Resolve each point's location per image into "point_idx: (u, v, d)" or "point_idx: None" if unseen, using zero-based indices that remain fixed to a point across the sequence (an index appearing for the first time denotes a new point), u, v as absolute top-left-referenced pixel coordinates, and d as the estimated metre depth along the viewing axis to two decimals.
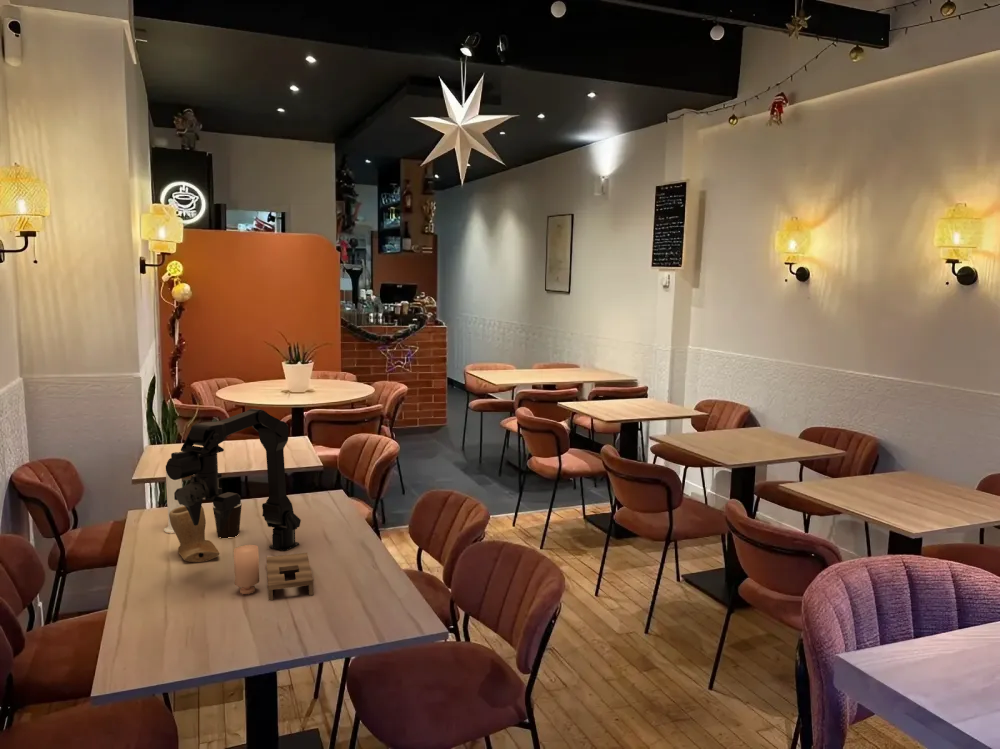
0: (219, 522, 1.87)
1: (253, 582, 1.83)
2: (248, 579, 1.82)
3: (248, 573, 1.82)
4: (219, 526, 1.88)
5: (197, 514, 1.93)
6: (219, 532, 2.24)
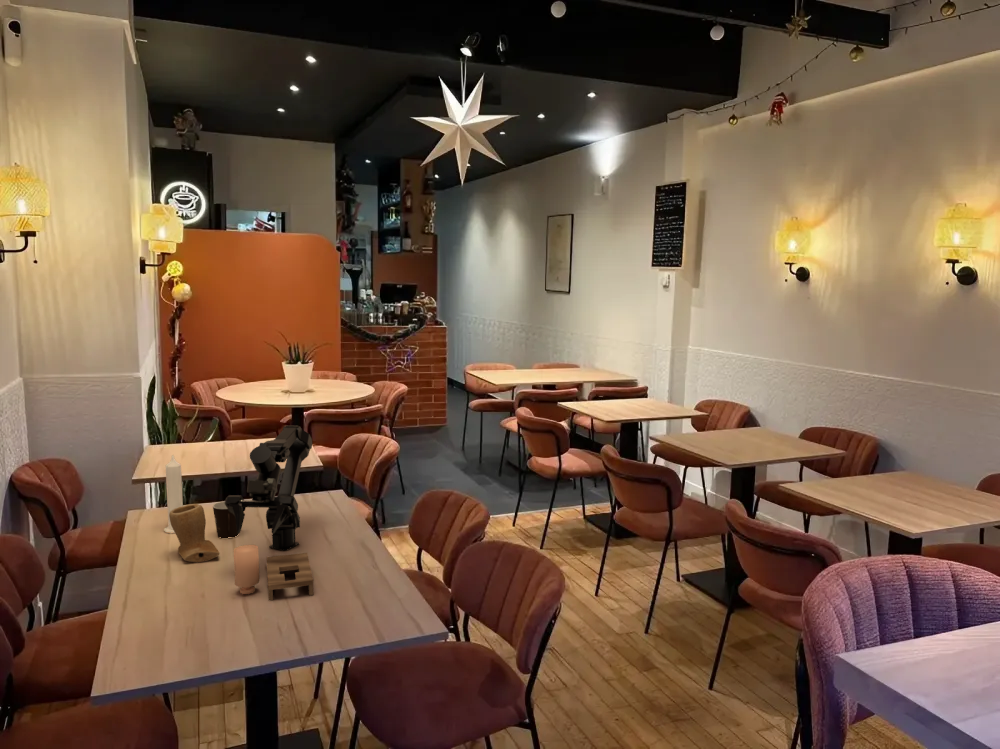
0: (275, 522, 1.92)
1: (253, 582, 1.83)
2: (248, 579, 1.82)
3: (248, 573, 1.82)
4: (273, 527, 1.91)
5: (241, 524, 1.93)
6: (219, 532, 2.24)
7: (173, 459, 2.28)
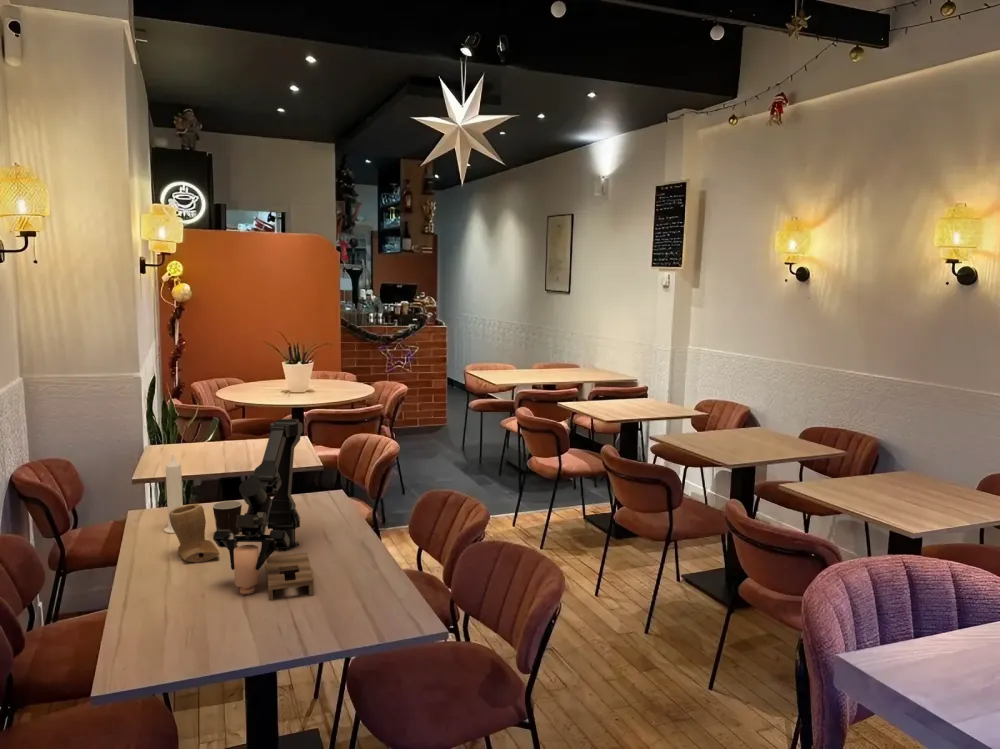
0: (260, 558, 1.84)
1: (253, 582, 1.83)
2: (248, 579, 1.82)
3: (248, 573, 1.82)
4: (258, 563, 1.84)
5: None
6: None
7: (173, 459, 2.28)
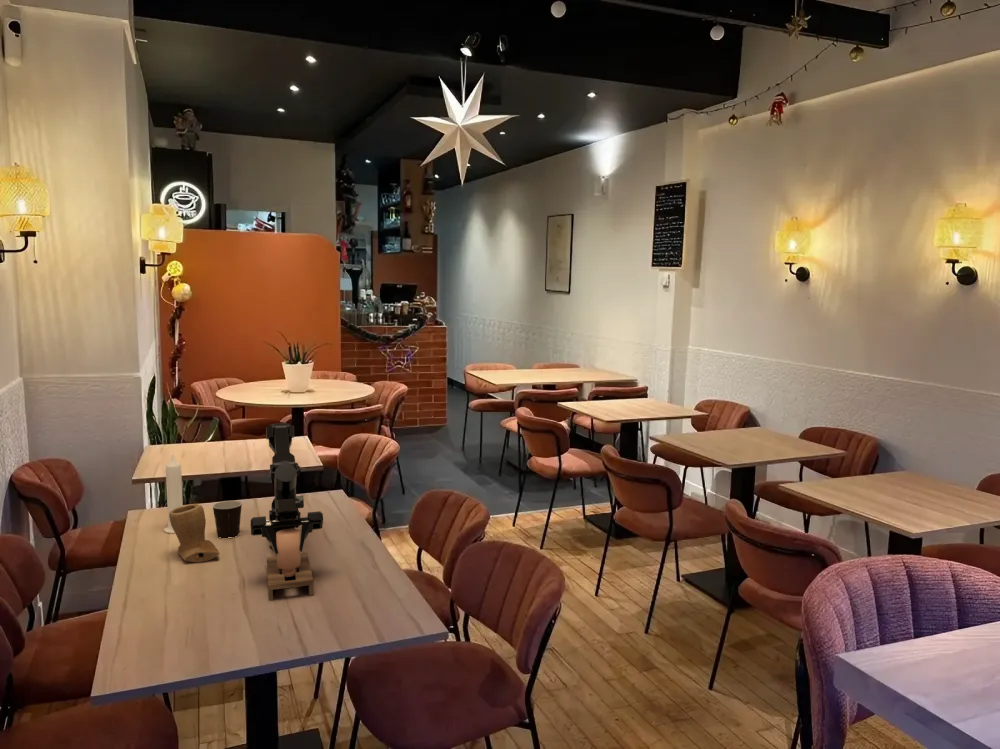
0: (303, 540, 1.90)
1: (298, 564, 1.89)
2: (294, 561, 1.88)
3: (294, 555, 1.88)
4: (302, 544, 1.90)
5: None
6: (219, 532, 2.24)
7: (173, 459, 2.28)
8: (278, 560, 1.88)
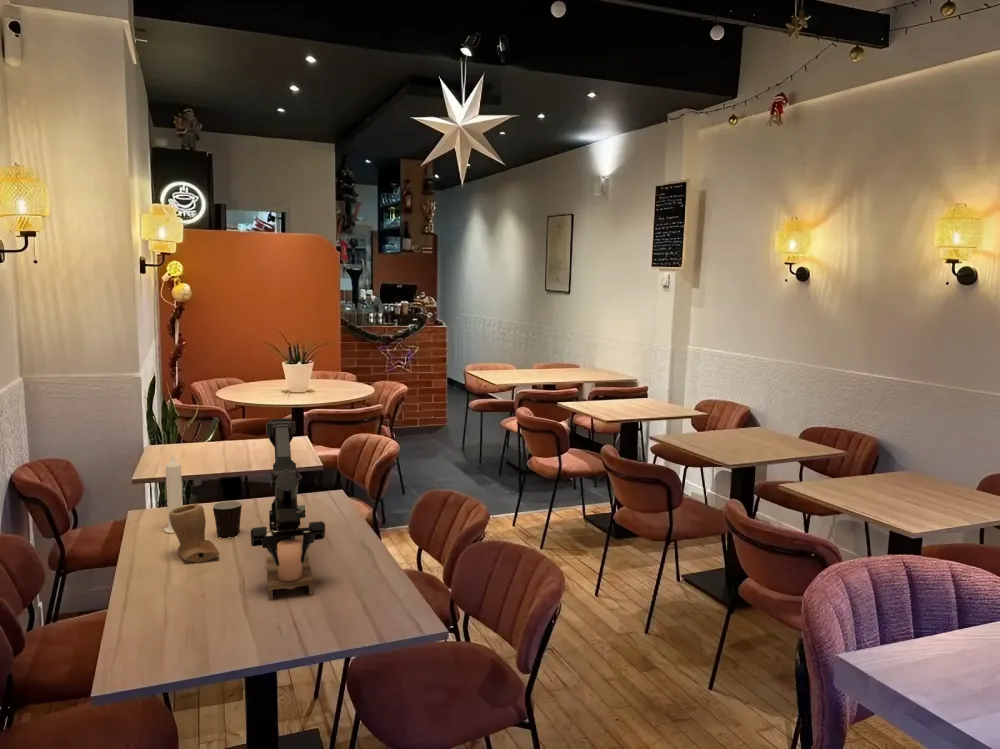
0: (304, 551, 1.85)
1: (299, 575, 1.84)
2: (295, 573, 1.83)
3: (295, 567, 1.83)
4: (303, 555, 1.85)
5: None
6: (219, 532, 2.24)
7: (173, 459, 2.28)
8: (279, 572, 1.83)
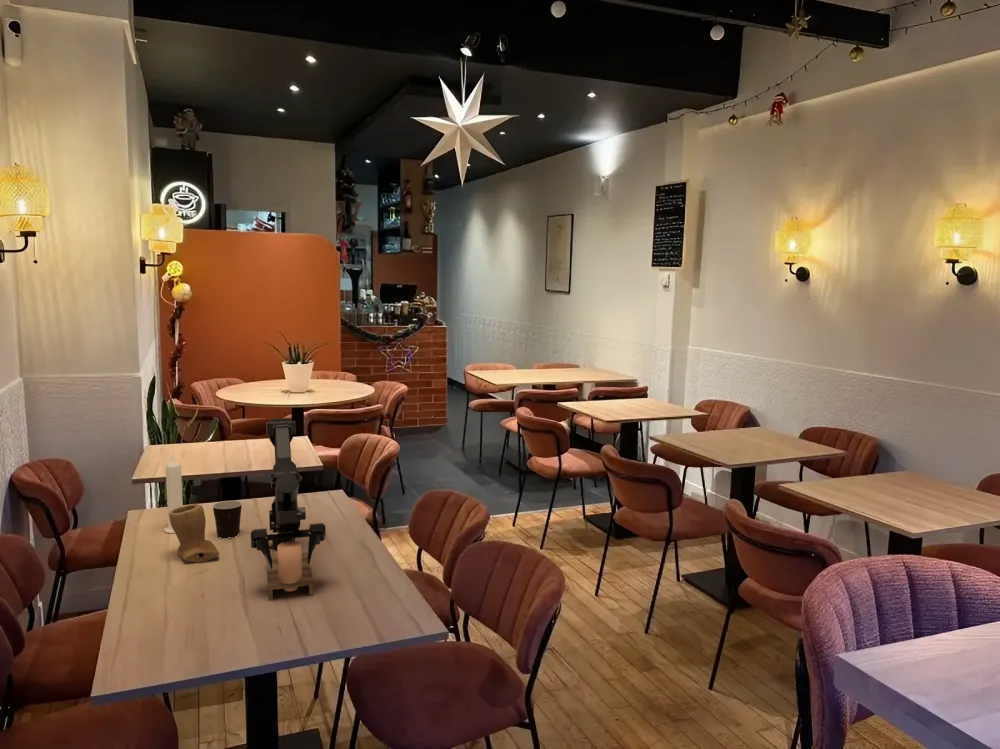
0: (310, 552, 1.85)
1: (299, 578, 1.83)
2: (295, 575, 1.82)
3: (296, 569, 1.82)
4: (309, 557, 1.84)
5: None
6: (219, 532, 2.24)
7: (173, 459, 2.28)
8: (279, 574, 1.82)
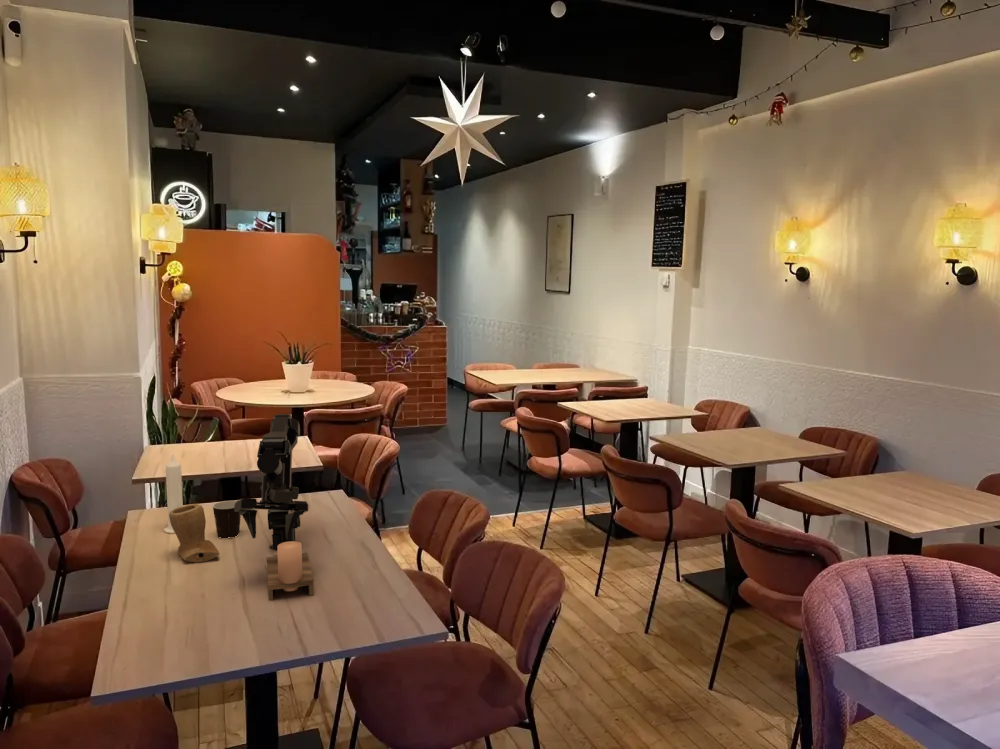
0: (291, 528, 1.94)
1: (299, 578, 1.83)
2: (295, 575, 1.82)
3: (296, 569, 1.82)
4: (289, 533, 1.94)
5: None
6: (219, 532, 2.24)
7: (173, 459, 2.28)
8: (279, 574, 1.82)
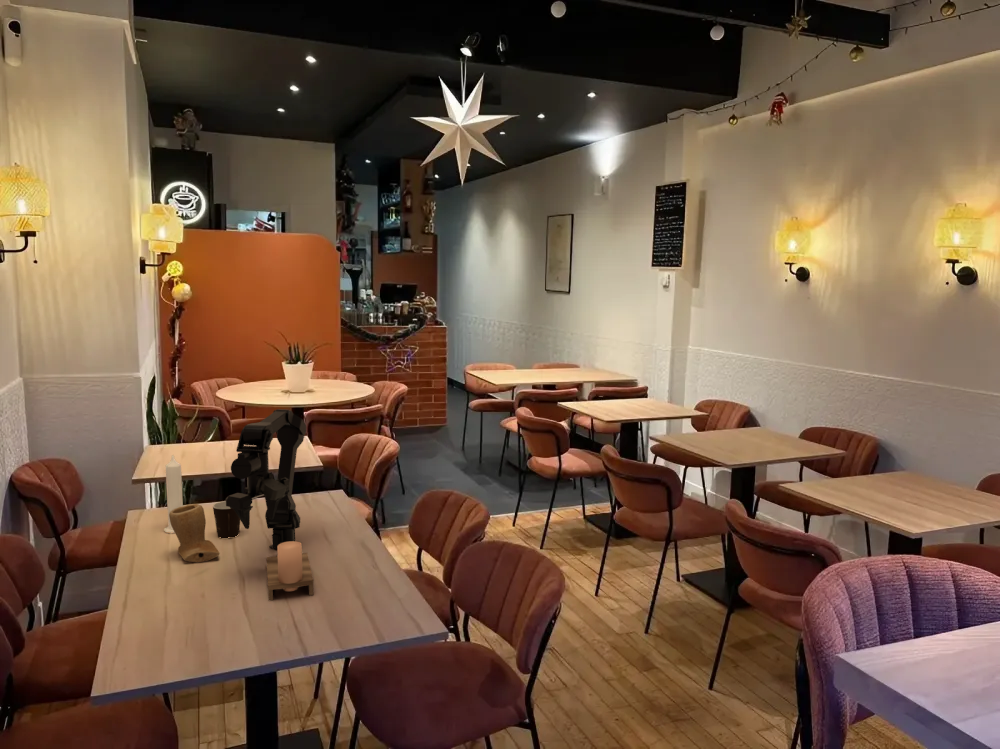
0: (275, 510, 2.03)
1: (299, 578, 1.83)
2: (295, 575, 1.82)
3: (296, 569, 1.82)
4: (274, 514, 2.03)
5: None
6: (219, 532, 2.24)
7: (173, 459, 2.28)
8: (279, 574, 1.82)
